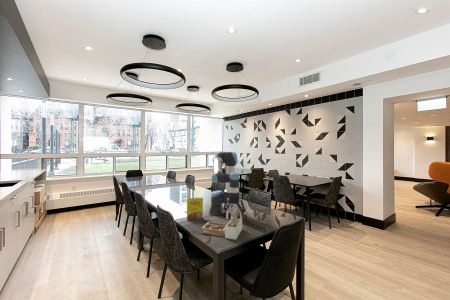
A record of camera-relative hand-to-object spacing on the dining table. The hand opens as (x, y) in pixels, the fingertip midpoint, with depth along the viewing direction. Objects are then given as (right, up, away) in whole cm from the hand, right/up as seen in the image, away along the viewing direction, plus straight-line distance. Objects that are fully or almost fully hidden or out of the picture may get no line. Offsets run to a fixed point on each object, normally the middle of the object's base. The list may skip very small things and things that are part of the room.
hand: (234, 219), depth 171 cm
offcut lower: (-16, -12, +4) cm, 20 cm away
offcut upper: (-16, -9, +4) cm, 19 cm away
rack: (-15, -11, +5) cm, 20 cm away
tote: (0, -11, 0) cm, 11 cm away
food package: (-36, -11, +35) cm, 51 cm away
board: (0, -11, 0) cm, 11 cm away
